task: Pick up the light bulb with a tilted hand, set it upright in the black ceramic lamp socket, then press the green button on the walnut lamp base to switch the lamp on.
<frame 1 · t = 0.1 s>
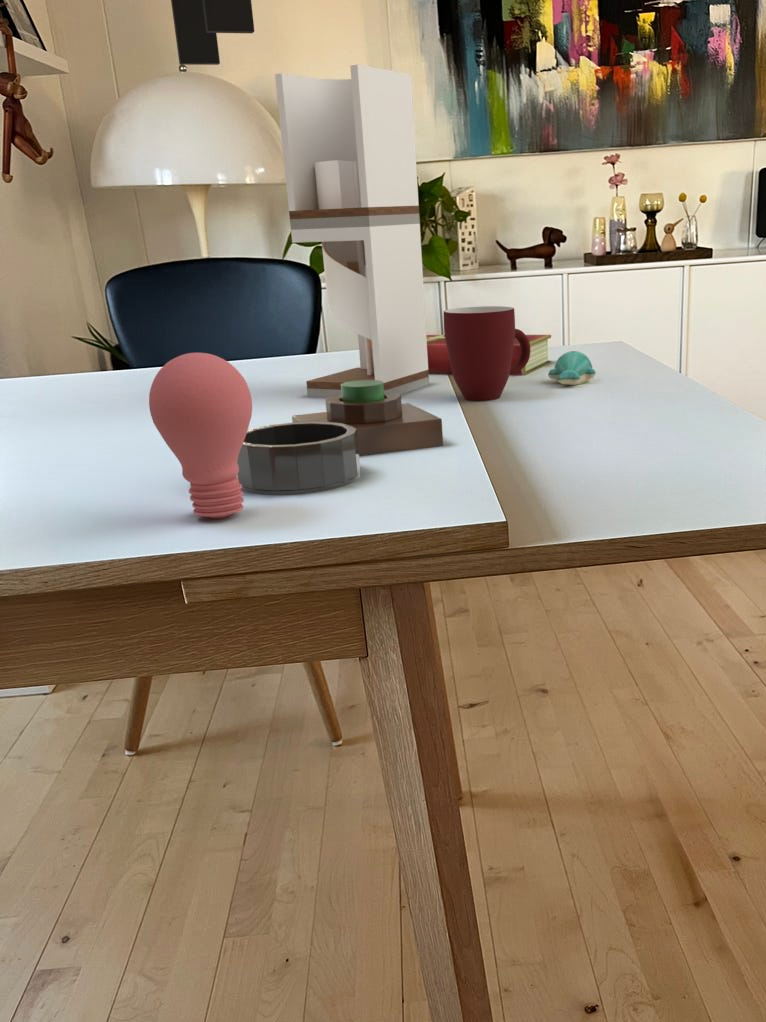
hand: (213, 50, 67), 31 cm above the table, tool pointing down, fingers open, 13 cm apart
hardcover book: (466, 370, 145), on the table
light bulb: (218, 521, 78), on the table
lamp base: (367, 445, 100), on the table
white shelf unit: (369, 393, 130), on the table
lamp socket: (299, 481, 88), on the table
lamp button: (362, 392, 98), point 5 cm above the table, slide at 0.1 cm
mug: (490, 399, 122), on the table
toy turtle: (571, 386, 129), on the table
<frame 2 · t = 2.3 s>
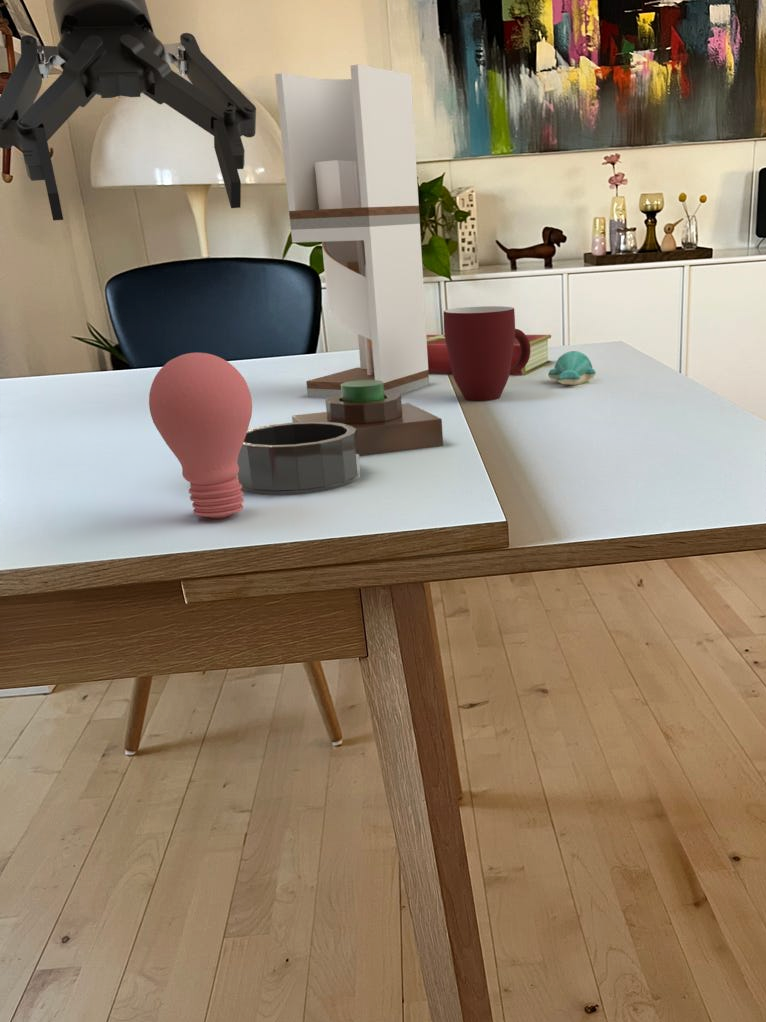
hand: (148, 201, 81), 22 cm above the table, tool tilted 45°, fingers open, 13 cm apart
nothing on the table moved.
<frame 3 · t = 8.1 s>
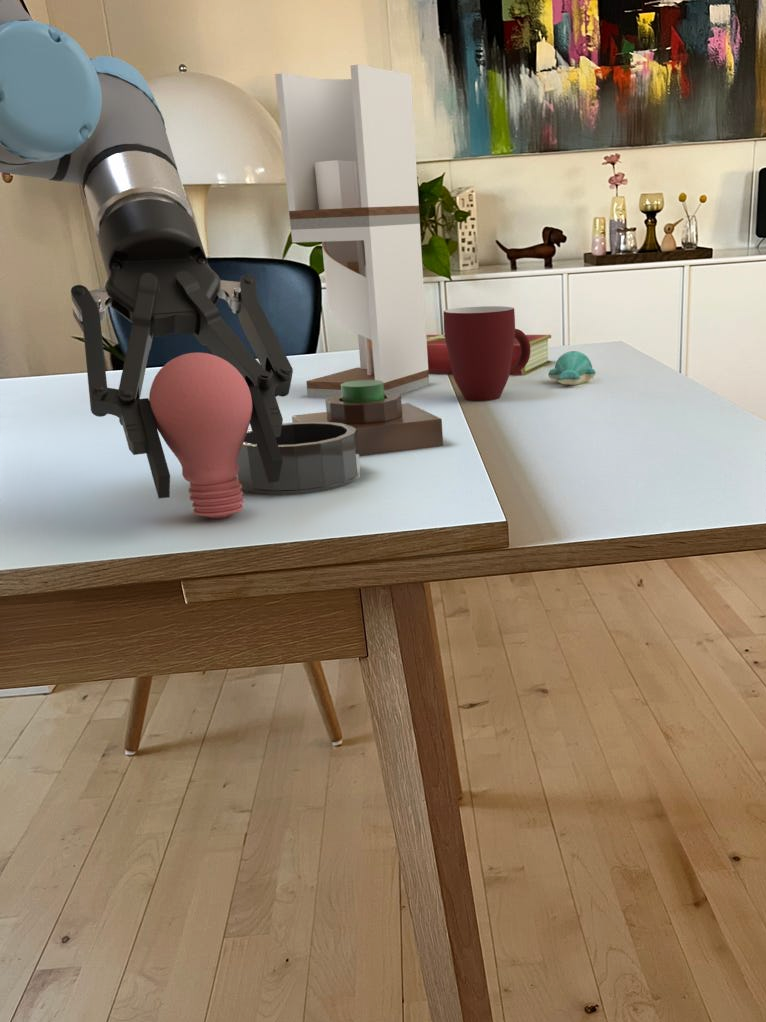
hand: (221, 478, 73), 4 cm above the table, tool tilted 45°, fingers closed on light bulb, 7 cm apart
light bulb: (217, 521, 78), on the table, touching gripper
everything else where it was.
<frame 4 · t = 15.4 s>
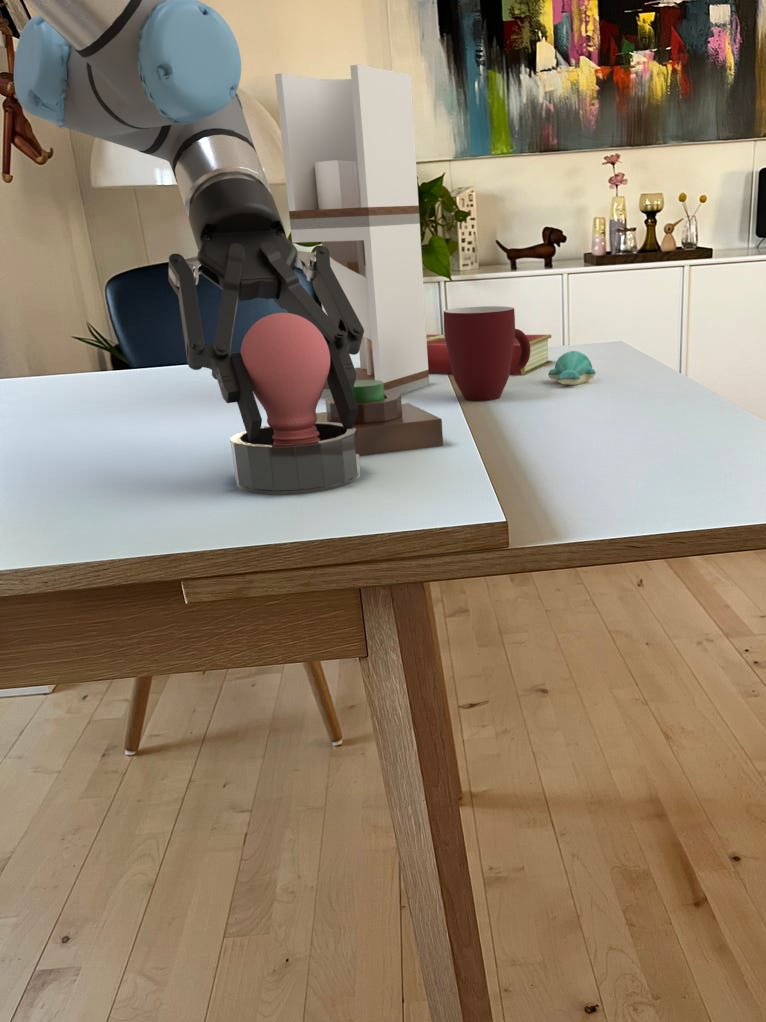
hand: (304, 424, 83), 5 cm above the table, tool tilted 45°, fingers closed on light bulb, 7 cm apart
light bulb: (297, 465, 87), point 1 cm above the table, touching gripper
everything else where it was.
when the fingers open (6 cm above the table, at t = 18.9 s): light bulb drops 1 cm, resting on lamp socket.
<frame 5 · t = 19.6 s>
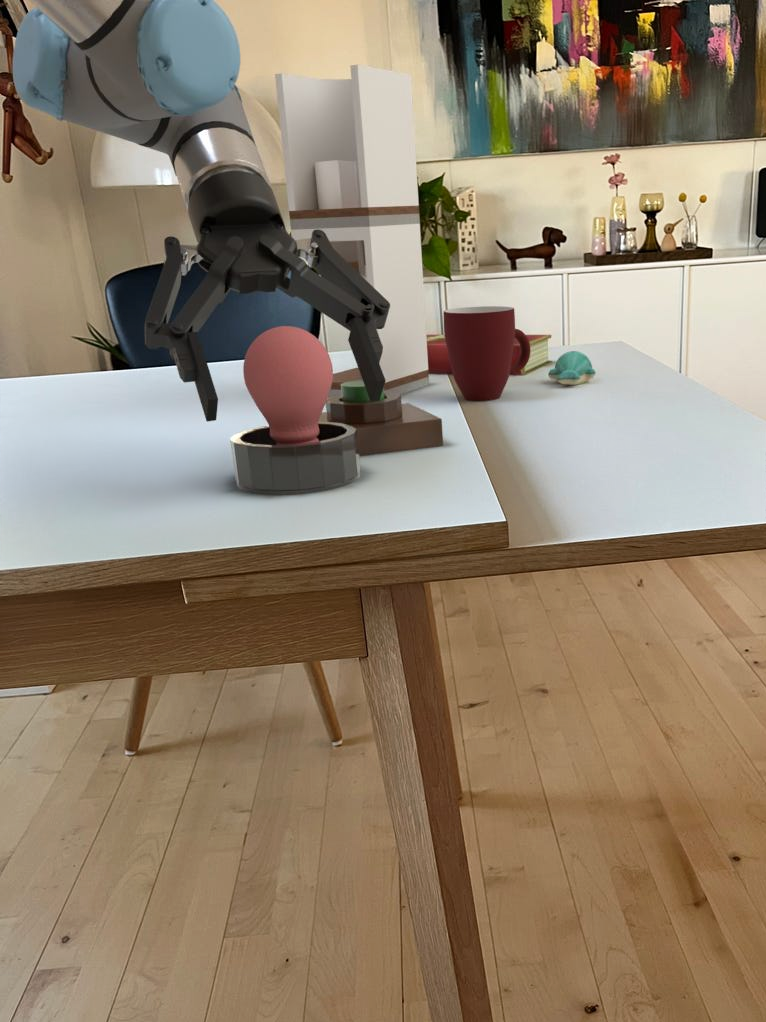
hand: (298, 401, 83), 7 cm above the table, tool tilted 45°, fingers open, 13 cm apart
light bulb: (299, 477, 88), resting on lamp socket
everything else where it was.
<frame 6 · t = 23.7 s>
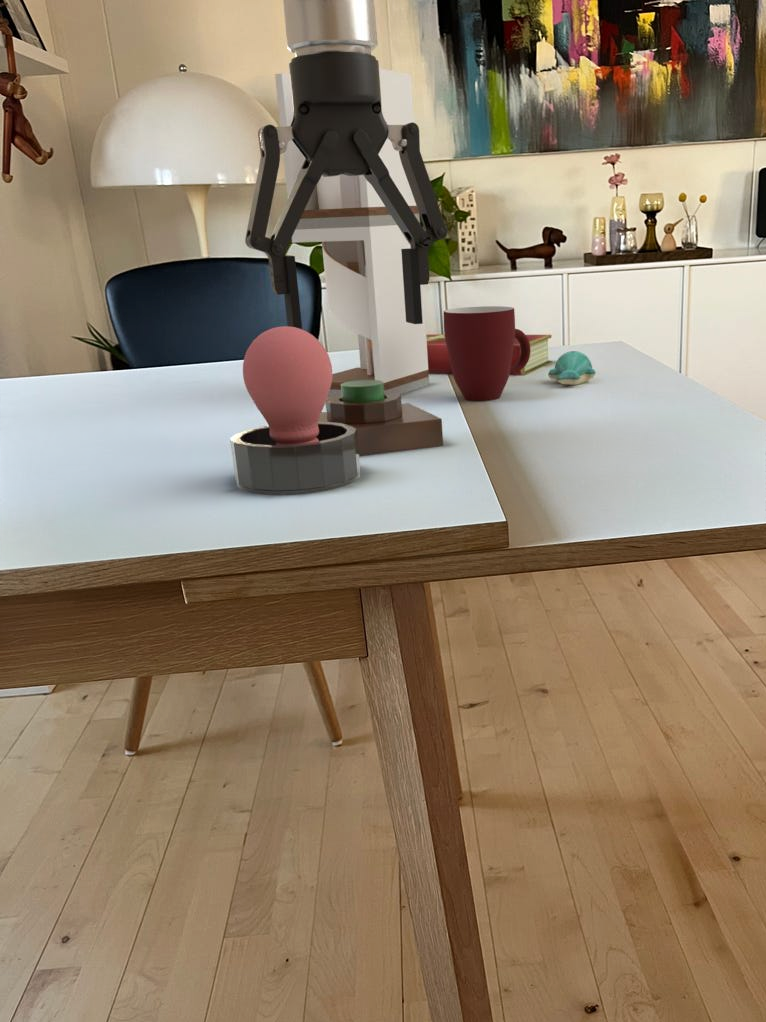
hand: (355, 327, 96), 11 cm above the table, tool pointing down, fingers open, 11 cm apart
nothing on the table moved.
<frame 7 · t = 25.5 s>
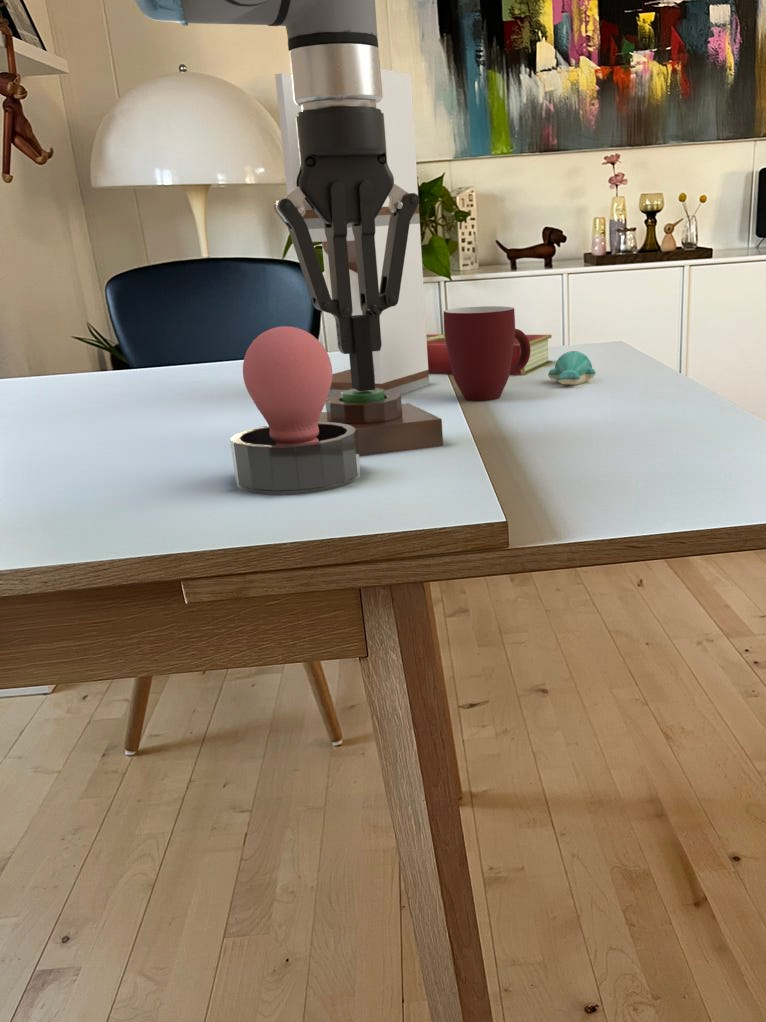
hand: (363, 388, 98), 5 cm above the table, tool pointing down, fingers closed
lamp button: (363, 400, 98), point 4 cm above the table, slide at -0.6 cm, touching gripper
everything else where it was.
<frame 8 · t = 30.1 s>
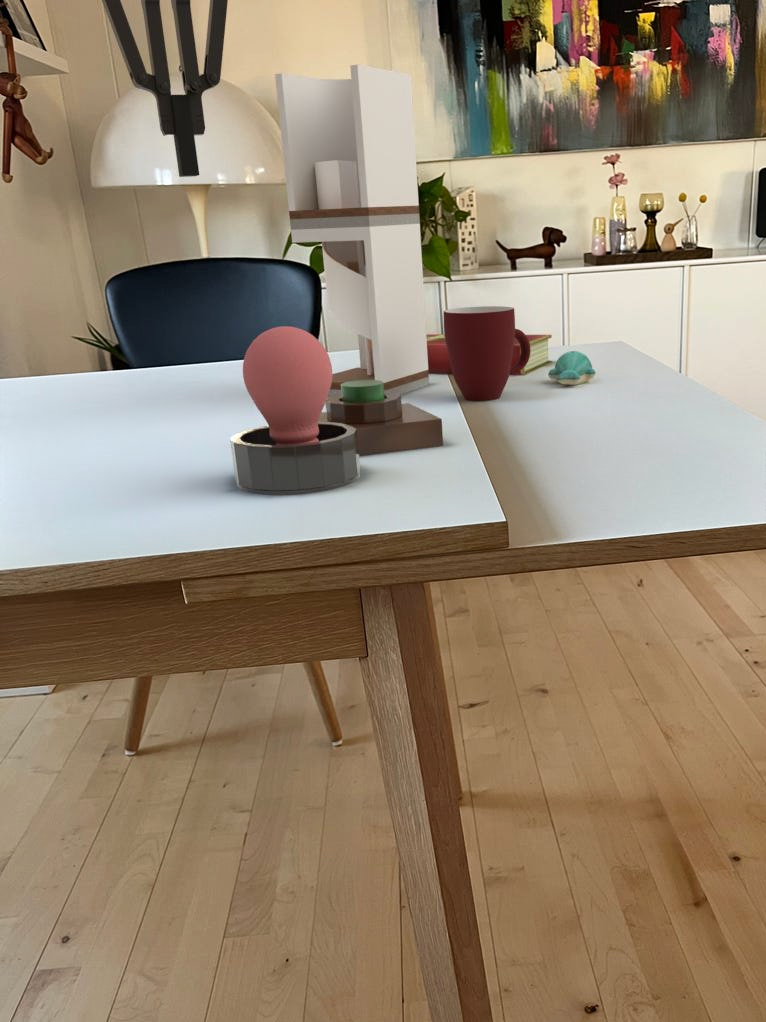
hand: (189, 175, 95), 24 cm above the table, tool pointing down, fingers closed
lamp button: (362, 392, 98), point 5 cm above the table, slide at 0.1 cm
everything else where it was.
at the end: light bulb 0.1 cm off-centre in the lamp socket, point 0.3 cm above the lamp socket's base; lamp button pushed in 1.0 cm at the most during the clip, back to where it started at the end; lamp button slide at 0.1 cm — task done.
